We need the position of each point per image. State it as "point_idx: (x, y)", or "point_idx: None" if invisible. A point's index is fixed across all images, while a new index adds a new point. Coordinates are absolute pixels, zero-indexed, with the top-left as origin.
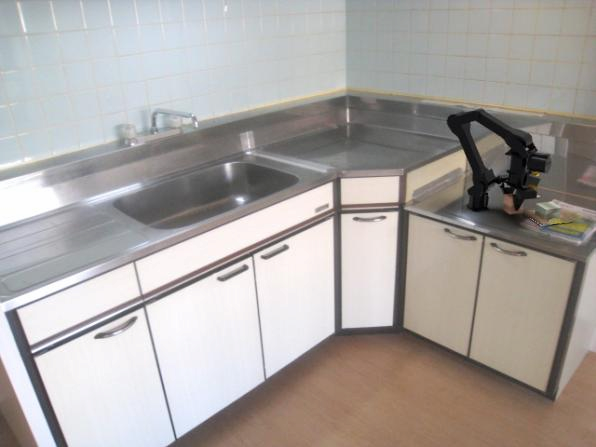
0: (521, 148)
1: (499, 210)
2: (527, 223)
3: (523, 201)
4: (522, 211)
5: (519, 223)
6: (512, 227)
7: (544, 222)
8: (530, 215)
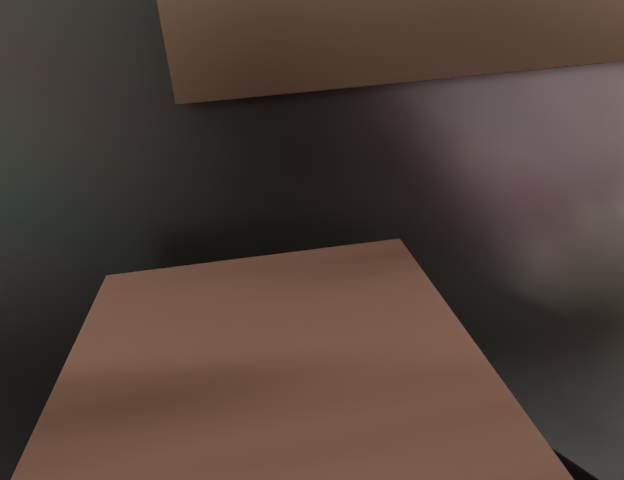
0: None
1: (3, 404)
2: (569, 191)
3: (533, 440)
4: (410, 253)
5: (525, 297)
6: (588, 411)
7: None
8: (416, 50)
